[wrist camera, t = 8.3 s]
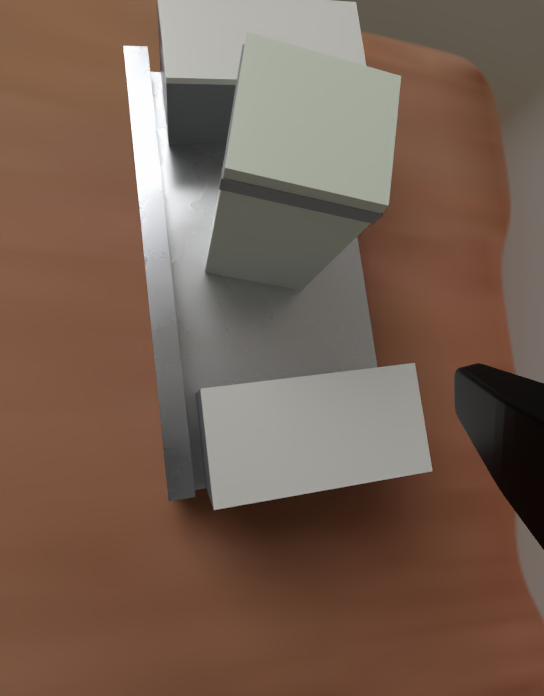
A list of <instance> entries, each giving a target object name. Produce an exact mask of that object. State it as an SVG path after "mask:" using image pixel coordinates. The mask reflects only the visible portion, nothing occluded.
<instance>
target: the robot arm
mask: <svg viewBox="0 0 544 696" xmlns="http://www.w3.org/2000/svg"><path fill="white" fill-rule="evenodd" d="M454 394H455V411H456V414H457V416H458V418H459V420H460V422H461V424H462V426H463V427H464V429H465V431H466V432H467V434H468V436H469V438H470V439H471V441H472V443H473V445H474V446H475V448H476V450H477V452H478V453H479V455H480V457H481V458H482V460H483V462H484V464H485V465H486V467H487V469H488V471H489V472H490V474H491V476H492V478H493V479H494V481H495V482H496V484H497V486H498V487H499V489H500V490H501V492H502V493H503V495H504V496H505V498H506V499H507V500H508V502H509V503H510V505H511V506H512V507H513V509H514V510H515V511H516V513H517V514H518V515H519V517H520V518H521V520H522V521H523V522H524V524H525V525H526V526H527V528H528V529H529V530H530V532H531V533H532V535H533V536H534V537H535V539H536V540H537V541H538V543H539V544H540V545H541V547H542V548H543V549H544V383H540V382H537V381H534V380H531V379H528V378H525V377H522V376H518V375H515V374H512V373H509V372H506V371H503V370H499V369H496V368H493V367H490V366H487V365H484V364H479V363H477V364H473V365H469V366H465V367H461V368H458V369H457V370H456V372H455V376H454Z"/></svg>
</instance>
